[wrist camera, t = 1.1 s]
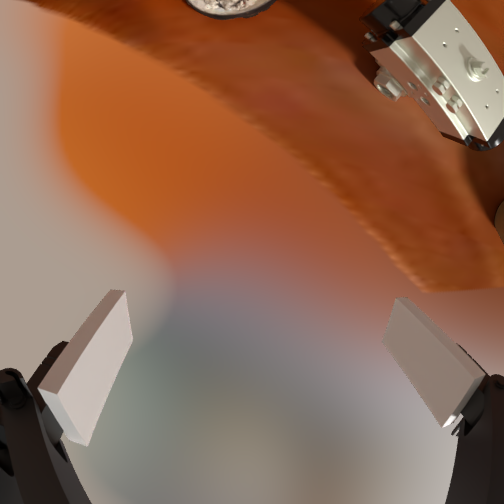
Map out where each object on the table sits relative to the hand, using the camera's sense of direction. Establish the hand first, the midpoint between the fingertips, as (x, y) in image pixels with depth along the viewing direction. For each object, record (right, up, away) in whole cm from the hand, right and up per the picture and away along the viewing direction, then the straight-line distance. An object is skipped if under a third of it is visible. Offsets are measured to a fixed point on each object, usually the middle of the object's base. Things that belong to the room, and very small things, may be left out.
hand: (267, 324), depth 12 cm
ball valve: (+18, +27, +15) cm, 36 cm away
